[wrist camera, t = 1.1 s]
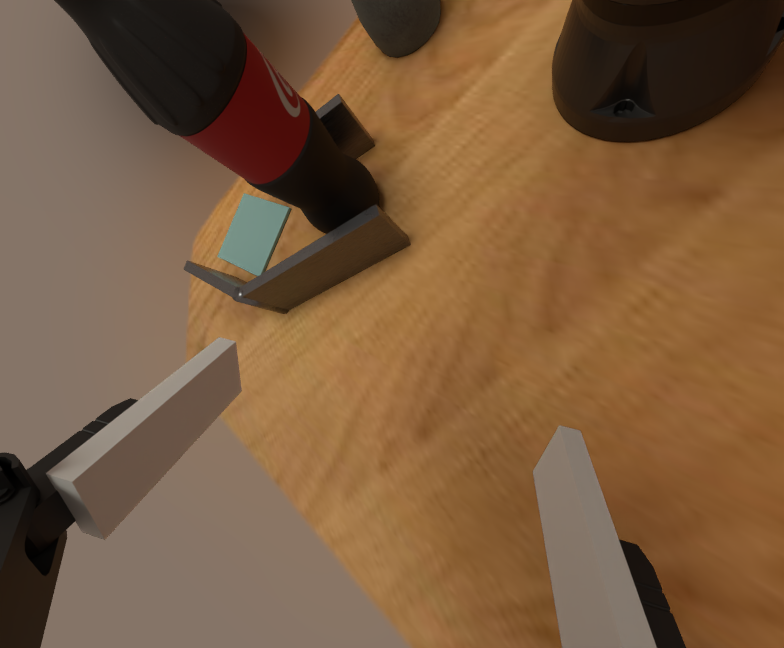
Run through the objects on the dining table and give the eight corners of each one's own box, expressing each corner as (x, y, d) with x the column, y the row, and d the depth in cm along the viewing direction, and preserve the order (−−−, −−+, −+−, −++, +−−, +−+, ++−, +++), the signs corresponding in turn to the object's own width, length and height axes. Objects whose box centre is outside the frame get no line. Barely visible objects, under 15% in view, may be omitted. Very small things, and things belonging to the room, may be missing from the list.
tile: (291, 208, 45) (289, 207, 44) (261, 277, 45) (259, 277, 45) (246, 194, 49) (244, 193, 49) (219, 257, 50) (217, 256, 49)
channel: (364, 118, 42) (331, 71, 35) (411, 246, 36) (380, 216, 30) (222, 222, 51) (176, 199, 45) (240, 337, 45) (189, 329, 39)
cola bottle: (380, 165, 39) (12, -291, 13) (391, 228, 37) (-22, -163, 11) (322, 194, 43) (-65, -121, 16) (329, 254, 41) (-104, 3, 14)
